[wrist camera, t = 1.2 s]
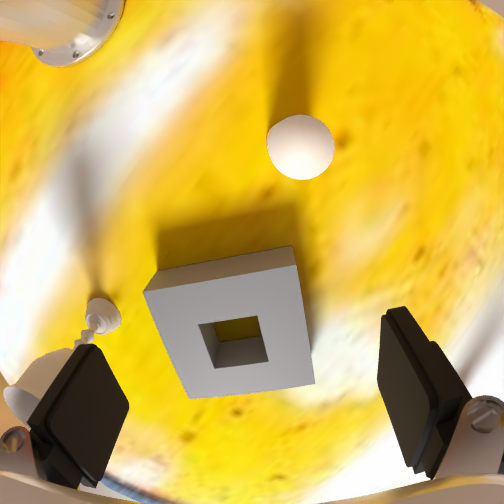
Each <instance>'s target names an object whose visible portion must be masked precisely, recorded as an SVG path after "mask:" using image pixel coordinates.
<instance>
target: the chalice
mask: <svg viewBox="0 0 504 504" xmlns="http://www.w3.org/2000/svg"><path fill="white" fill-rule="evenodd" d="M85 320H86V323H87V325H88V327H89V329H87V330H83V331H82V332H81V336H82V337H81V339H79V340H76V341H75V346H74V349H73V350H72V349H70V348H64V349H60V350H57V351H54V352H51V353H48V354H46V355H44V356H42V357H40V358H38V359H36V360H35V361H33V362H32V363H31V365H30V366H29V367H28V368H27V370H26V371H25V372H24V373H23V375H22V376H21V377H20V379H19V380H18V381H17V382H16V384H14V385H11V386H8V387H7V388H5V389H4V394H3V395H4V399H5V402H6V403H7V405H8V407H9V408H10V410H11V411H12V412H13V413H14V415H15V416H16V417H17V418H18V419H19V420H21V421H22V422H23V423H24V424H25V425H26V426H28V427H29V428H30V426H29V425H28V424H27V423H26V422H27V421H28V419H29V417H30V416H31V414H32V413H33V411H34V410H35V408H36V406H37V405H38V403H39V402H40V400H41V399H42V397H43V396H44V394H45V393H46V391H47V390H48V388H49V387H50V385H51V384H52V382H53V381H54V379H55V378H56V376H57V375H58V373H59V372H60V370H61V369H62V368H63V366H64V365H65V363H66V362H67V360H68V359H69V358H70V356H71V355H72V353H73V352H74V350H75V349H76V348H77V346H78V345H80V344H87V343H88V342H93V341H94V336H93V335H94V333H96V334H107V333H109V332H111V331H114V330H116V329H117V328H119V326H120V324H121V316H120V313H119V311H118V309H117V308H116V306H115V305H114V304H113V303H111V302H110V301H108V300H106V299H104V298H94V299H91V300H90V301H89V302H88V305H87V310H86V315H85Z"/></svg>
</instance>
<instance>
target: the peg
mask: <svg viewBox="0 0 504 504" xmlns="http://www.w3.org/2000/svg"><path fill="white" fill-rule="evenodd" d="M266 144H267V148H268V152H269V155H270V158H271V160H272V162H273V164H274V165H275V167H276V168H277V169H278V170H279V171H280V172H281V173H283V174H284V175H286V176H288V177H290V178H294V179H299V180H304V179H310V178H313V177H316V176H318V175H320V174H321V173H322V172H324V171H325V170H326V169H327V167H328V166H329V164H330V163H331V161H332V158H333V155H334V141H333V137H332V135H331V133H330V131H329V129H328V128H327V127H326V126H325V124H324V123H322V122H321V121H320V120H318V119H316V118H314V117H312V116H308V115H293V116H290V117H287V118H285V119H283V120H282V121H280V122H279V123H277V124H275V125H274V126H273V127H272V128H271V129H270V130H269V132H268V134H267V138H266Z"/></svg>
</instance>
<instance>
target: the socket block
mask: <svg viewBox="0 0 504 504" xmlns="http://www.w3.org/2000/svg"><path fill="white" fill-rule="evenodd" d="M143 294H144V297H145V300H146V302H147V305H148V307H149V310H150V312H151V315H152V317H153V320H154V322H155V325H156V327H157V329H158V332H159V334H160V336H161V339H162V341H163V343H164V346H165V348H166V350H167V353H168V355H169V357H170V359H171V362H172V364H173V366H174V368H175V370H176V372H177V375H178V377H179V379H180V381H181V383H182V385H183V387H184V389H185V391H186V394H187V396H188V398H189V399H197V398H210V397H222V396H232V395H242V394H250V393H258V392H266V391H273V390H280V389H287V388H293V387H299V386H305V385H311V384H315V379H314V372H313V365H312V358H311V351H310V344H309V338H308V331H307V325H306V319H305V312H304V306H303V300H302V294H301V288H300V282H299V277H298V271H297V265H296V261H295V256H294V252H293V248H292V246H286V247H281V248H276V249H270V250H265V251H260V252H255V253H249V254H244V255H239V256H234V257H228V258H223V259H218V260H213V261H207V262H202V263H197V264H191V265H186V266H181V267H176V268H170V269H165V270H160V271H157V272H156V273H155V275H154V276H153V278H152V279H151V280H150V282H149V283H148V285H147V286H146V288H145V289H144V291H143ZM256 315H257V316H258V320H259V324H260V328H261V332H262V336H257V337H251V338H244V339H237V340H230V341H223V342H219V339H218V336H217V333H216V330H215V327H214V324H213V322H218V321H225V320H232V319H238V318H244V317H250V316H256Z"/></svg>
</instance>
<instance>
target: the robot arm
mask: <svg viewBox="0 0 504 504" xmlns="http://www.w3.org/2000/svg"><path fill="white" fill-rule="evenodd" d="M124 2H125V1H124V0H0V41H5V42H10V43H15V44H20V45H24V46H29V47H31V48H32V50H33V53H34V55H35V56H36V57H37V59H38V60H40V61H41V62H42V63H44V64H47V65H50V66H55V67H67V66H71V65H74V64H77V63H79V62H81V61H83V60H85V59H86V58H88V57H90V56H91V55H92V54H94V53H95V52H96V51H97V50H98V49H100V48H101V47H102V45H103V44H104V43H105V42H106V41H107V40H108V39H109V37H110V36H111V35H112V33H113V32H114V30H115V28H116V26H117V25H118V23H119V21H120V18H121V15H122V12H123V8H124ZM377 382H378V387H379V390H380V393H381V395H382V398H383V401H384V403H385V406H386V409H387V412H388V414H389V417H390V420H391V423H392V425H393V428H394V431H395V434H396V437H397V440H398V443H399V446H400V449H401V451H402V454H403V457H404V461H405V463H406V466H407V467H411V466H412V467H413V470H414V473H415V474H418V473H421V472H424V471H425V473H426V476H427V477H428V478H430V480H429V481H424V482H420V483H416V484H412V485H408V486H404V487H400V488H396V489H392V490H388V491H383V492H379V493H375V494H370V495H366V496H361V497H355V498H350V499H344V500H338V501H332V502H326V503H319V504H504V402H503V401H501V400H500V399H499V398H496V397H493V396H486V395H483V396H478V397H475V398H472V396H471V395H470V393H469V392H468V390H467V388H466V387H465V385H464V383H463V382H462V380H461V379H460V377H459V376H458V374H457V372H456V371H455V369H454V368H453V366H452V365H451V363H450V362H449V360H448V359H447V357H446V356H445V354H444V353H443V351H442V350H441V348H440V347H439V345H438V344H437V343H436V342H435V341H431V342H430V341H429V340H428V338H427V337H426V335H425V334H424V332H423V331H422V329H421V328H420V326H419V325H418V323H417V322H416V321H415V319H414V318H413V316H412V315H411V313H410V312H409V311H408V309H407V308H406V307H405V306H402V307H397V308H392V309H388V310H387V312H386V315H382V317H381V332H380V349H379V362H378V374H377ZM128 410H129V402H128V400H127V398H126V396H125V394H124V393H123V391H122V389H121V387H120V385H119V384H118V382H117V380H116V378H115V376H114V374H113V372H112V370H111V368H110V367H109V365H108V363H107V361H106V359H105V357H104V355H103V353H102V351H101V349H100V348H98V347H97V346H96V345H95V344H80V345H78V346H77V348H76V349H75V350H74V352H73V353H72V355H71V356H70V358H69V359H68V360H67V362H66V363H65V365H64V366H63V368H62V369H61V370H60V372H59V373H58V375H57V376H56V378H55V379H54V381H53V382H52V384H51V385H50V387H49V388H48V390H47V391H46V393H45V394H44V396H43V397H42V399H41V400H40V402H39V403H38V405H37V406H36V408H35V410H34V411H33V413H32V414H31V416H30V417H29V419H28V421H27V422H26V423H27V424H28V425H29V426H30V428H31V430H30V432H29V431H28V430H27V429H26V428H25V427H22V426H16V427H12V428H10V429H9V430H7V431H6V432H5V433H4V434H3V435H2V436H1V438H0V504H146V503H139V502H133V501H127V500H121V499H115V498H110V497H105V496H101V495H96V494H92V493H87V492H84V491H80V489H79V484H80V483H81V484H82V485H84V486H88V487H92V488H96V486H97V483H98V481H100V480H101V479H102V478H103V475H104V472H105V469H106V467H107V464H108V461H109V459H110V456H111V454H112V451H113V448H114V446H115V443H116V441H117V438H118V436H119V433H120V430H121V428H122V425H123V423H124V420H125V418H126V415H127V413H128Z"/></svg>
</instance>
